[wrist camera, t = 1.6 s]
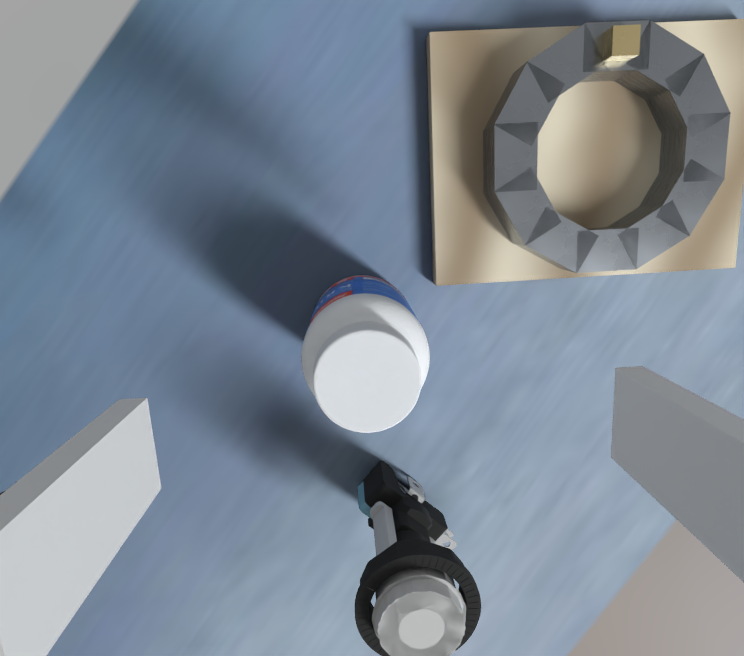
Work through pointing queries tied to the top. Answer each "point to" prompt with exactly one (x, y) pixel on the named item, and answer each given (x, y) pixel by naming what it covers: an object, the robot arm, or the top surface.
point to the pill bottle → (365, 354)
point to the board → (566, 153)
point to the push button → (411, 574)
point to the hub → (677, 153)
